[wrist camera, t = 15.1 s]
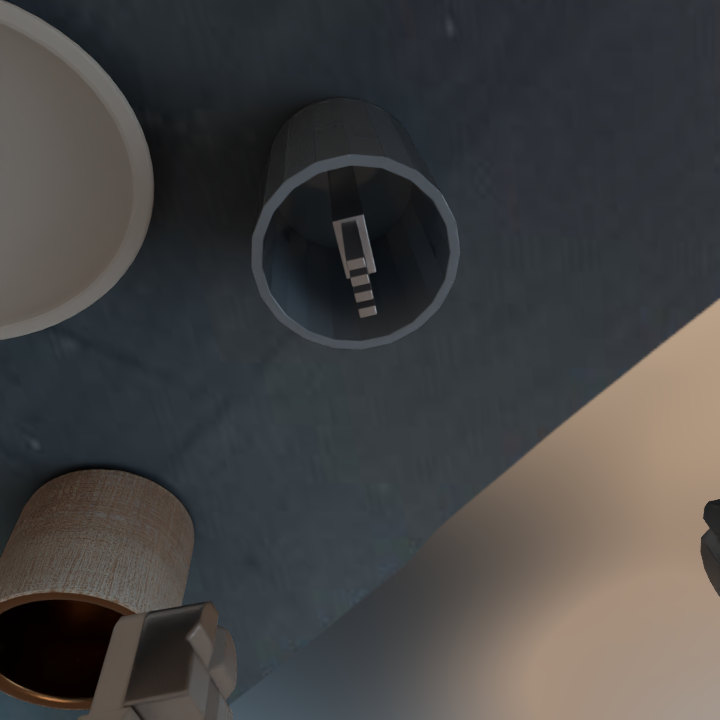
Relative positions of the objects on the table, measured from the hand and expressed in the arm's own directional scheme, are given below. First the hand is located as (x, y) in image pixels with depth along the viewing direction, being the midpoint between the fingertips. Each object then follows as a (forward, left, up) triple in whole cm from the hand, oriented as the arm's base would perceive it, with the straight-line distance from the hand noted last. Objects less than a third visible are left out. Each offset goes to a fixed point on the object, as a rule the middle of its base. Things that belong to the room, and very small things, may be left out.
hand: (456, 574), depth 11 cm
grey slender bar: (+1, +1, -24) cm, 24 cm away
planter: (+21, +20, -25) cm, 38 cm away
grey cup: (+1, +1, -25) cm, 25 cm away
